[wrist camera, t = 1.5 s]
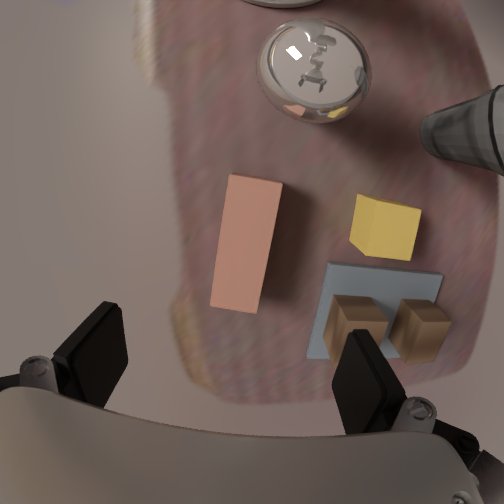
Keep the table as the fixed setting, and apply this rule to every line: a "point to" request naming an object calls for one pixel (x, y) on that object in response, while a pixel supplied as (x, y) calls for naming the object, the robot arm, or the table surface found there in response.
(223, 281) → the beam
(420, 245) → the table surface
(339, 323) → the block
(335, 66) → the light bulb
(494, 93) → the beverage cup
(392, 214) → the cube
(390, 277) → the board
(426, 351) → the pier
